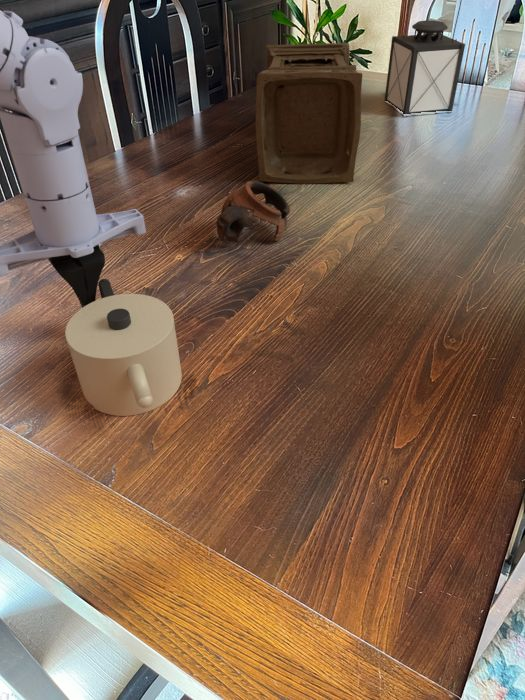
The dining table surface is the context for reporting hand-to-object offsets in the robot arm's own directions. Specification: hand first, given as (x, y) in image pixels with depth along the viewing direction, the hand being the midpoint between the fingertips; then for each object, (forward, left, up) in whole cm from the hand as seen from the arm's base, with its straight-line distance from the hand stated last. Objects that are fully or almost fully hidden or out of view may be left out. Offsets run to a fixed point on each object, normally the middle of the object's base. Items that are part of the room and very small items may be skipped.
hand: (89, 311), depth 58 cm
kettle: (+3, -9, -3) cm, 10 cm away
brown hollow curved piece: (+23, +17, -5) cm, 29 cm away
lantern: (+76, +60, -5) cm, 97 cm away
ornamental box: (+44, +47, -5) cm, 65 cm away
